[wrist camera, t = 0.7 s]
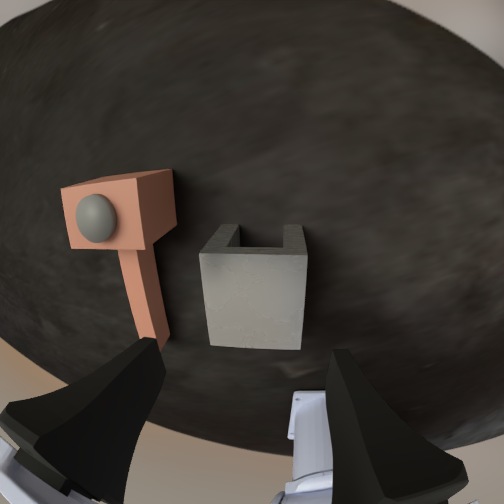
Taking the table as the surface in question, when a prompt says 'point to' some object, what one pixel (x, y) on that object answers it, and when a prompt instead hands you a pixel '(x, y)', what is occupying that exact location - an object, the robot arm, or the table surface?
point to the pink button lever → (127, 234)
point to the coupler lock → (254, 290)
